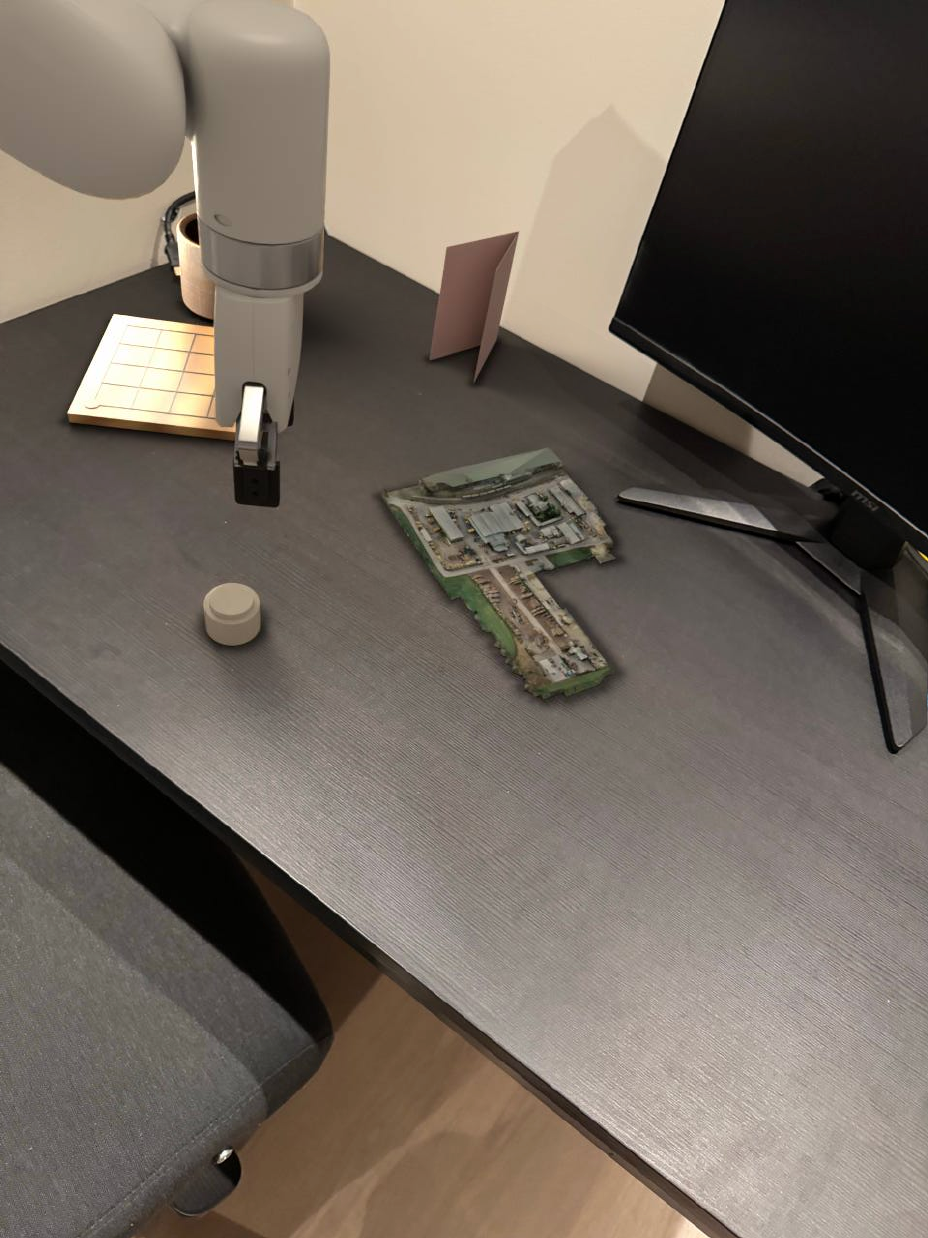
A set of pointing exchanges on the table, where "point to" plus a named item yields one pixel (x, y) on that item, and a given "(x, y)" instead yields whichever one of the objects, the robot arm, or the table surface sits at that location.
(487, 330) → the greeting card
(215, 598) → the tan tin with lid
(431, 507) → the model
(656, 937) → the table surface
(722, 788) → the table surface
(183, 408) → the board
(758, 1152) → the table surface
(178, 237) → the planter
